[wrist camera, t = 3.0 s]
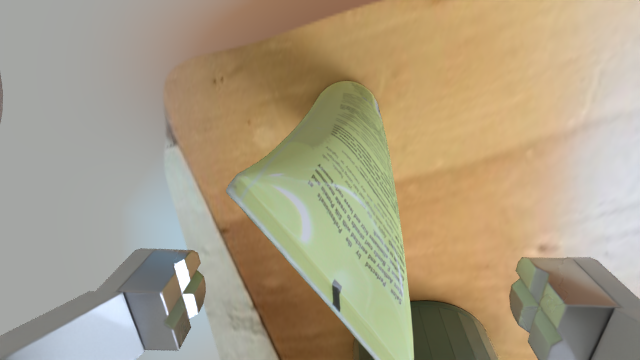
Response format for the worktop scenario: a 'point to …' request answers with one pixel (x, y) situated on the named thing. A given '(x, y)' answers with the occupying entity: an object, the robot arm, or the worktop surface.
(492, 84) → the worktop surface
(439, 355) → the vessel
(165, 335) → the robot arm
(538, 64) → the worktop surface
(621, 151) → the worktop surface
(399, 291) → the tube
